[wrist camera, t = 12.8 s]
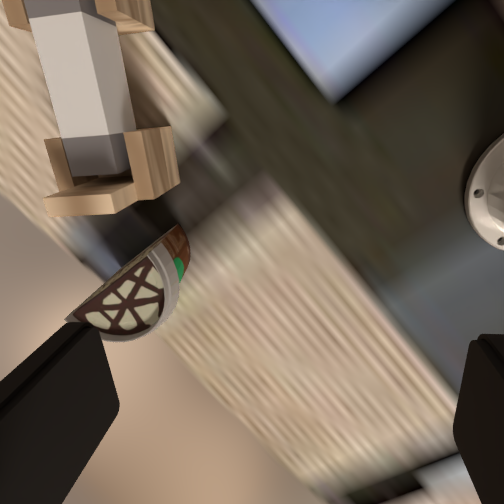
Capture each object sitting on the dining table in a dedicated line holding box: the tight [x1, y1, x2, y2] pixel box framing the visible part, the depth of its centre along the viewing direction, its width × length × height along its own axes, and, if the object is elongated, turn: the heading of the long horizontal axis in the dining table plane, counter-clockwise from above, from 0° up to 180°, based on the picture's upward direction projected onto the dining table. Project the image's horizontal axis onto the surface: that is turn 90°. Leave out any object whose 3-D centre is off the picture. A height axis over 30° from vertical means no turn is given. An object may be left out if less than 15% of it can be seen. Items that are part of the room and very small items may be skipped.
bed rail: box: [24, 0, 137, 177], centre depth 28 cm, size 4×14×5 cm, turn 5°
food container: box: [64, 224, 190, 342], centre depth 35 cm, size 12×6×10 cm, turn 128°
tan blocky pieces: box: [2, 0, 180, 217], centre depth 28 cm, size 8×19×11 cm, turn 5°
